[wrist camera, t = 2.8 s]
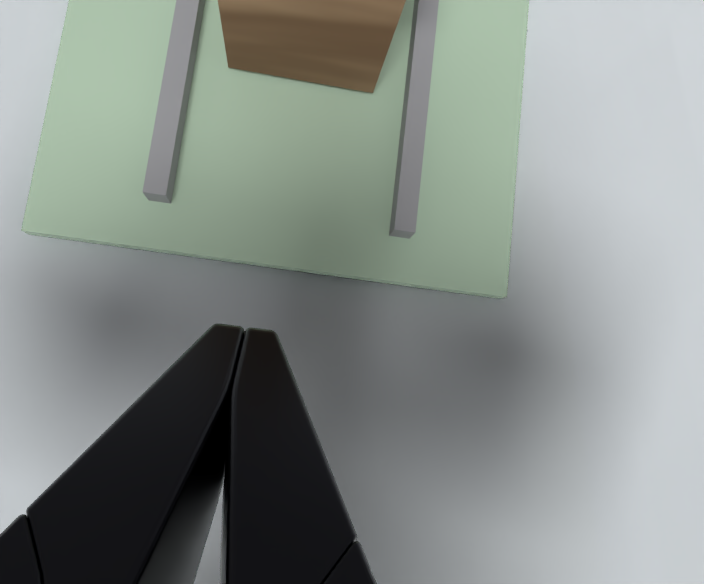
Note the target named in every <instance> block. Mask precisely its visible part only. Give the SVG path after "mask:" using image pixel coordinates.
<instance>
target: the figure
mask: <svg viewBox="0 0 704 584" xmlns="http://www.w3.org/2000/svg"><path fill="white" fill-rule="evenodd" d="M405 2H406V0H218V6H219V12H220V18H221V25H222V31H223V37H224V44H225V50H226V56H227V63H228V68H233V69H239V70H245V71H250V72H256V73H262V74H267V75H273V76H279V77H284V78H290V79H296V80H301V81H307V82H313V83H318V84H324V85H330V86H335V87H341V88H347V89H352V90H358V91H364V92H369V93H373V91H374V89H375V86H376V83H377V80H378V77H379V75H380V72H381V69H382V66H383V63H384V61H385V58H386V55H387V52H388V49H389V47H390V44H391V41H392V38H393V35H394V32H395V30H396V27H397V24H398V21H399V18H400V16H401V13H402V10H403V7H404V4H405Z"/></svg>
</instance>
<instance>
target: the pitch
mask: <svg viewBox="0 0 704 584" xmlns="http://www.w3.org/2000/svg"><path fill="white" fill-rule="evenodd" d="M528 8H529V0H406V2H405V4H404V7H403V10H402V13H401V16H400V18H399V21H398V24H397V27H396V30H395V32H394V35H393V38H392V41H391V44H390V47H389V49H388V52H387V55H386V58H385V61H384V63H383V66H382V69H381V72H380V75H379V77H378V80H377V83H376V86H375V89H374V91H373V93H369V92H364V91H358V90H352V89H347V88H341V87H335V86H330V85H324V84H318V83H313V82H307V81H301V80H296V79H290V78H284V77H279V76H273V75H267V74H262V73H256V72H250V71H245V70H239V69H233V68H228V63H227V56H226V50H225V44H224V37H223V31H222V25H221V18H220V12H219V6H218V0H69V3H68V7H67V12H66V17H65V22H64V27H63V31H62V36H61V41H60V46H59V51H58V56H57V60H56V65H55V70H54V75H53V80H52V84H51V89H50V94H49V99H48V104H47V109H46V113H45V118H44V123H43V128H42V133H41V137H40V142H39V147H38V152H37V157H36V161H35V166H34V171H33V176H32V181H31V186H30V190H29V195H28V200H27V205H26V210H25V214H24V219H23V224H22V229H21V231H23V232H25V233H27V234H30V235H37V236H44V237H52V238H59V239H66V240H73V241H81V242H88V243H95V244H103V245H110V246H117V247H125V248H132V249H139V250H147V251H154V252H161V253H169V254H176V255H183V256H190V257H198V258H205V259H212V260H220V261H227V262H234V263H242V264H249V265H256V266H264V267H271V268H278V269H286V270H293V271H300V272H307V273H315V274H322V275H329V276H337V277H344V278H351V279H359V280H366V281H373V282H381V283H388V284H395V285H403V286H410V287H417V288H424V289H432V290H439V291H446V292H454V293H461V294H468V295H476V296H483V297H490V298H498V299H502V298H506V297H507V289H508V275H509V262H510V248H511V235H512V222H513V208H514V195H515V182H516V168H517V155H518V142H519V128H520V115H521V102H522V88H523V75H524V61H525V48H526V35H527V21H528Z"/></svg>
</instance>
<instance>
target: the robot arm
mask: <svg viewBox="0 0 704 584" xmlns="http://www.w3.org/2000/svg"><path fill="white" fill-rule="evenodd" d="M224 474H225V475H224ZM223 479H224V490H223V505H222V530H221V555H220V579H219V584H377V583H376V581H375V579H374V576H373V574H372V572H371V569H370V567H369V564H368V562H367V559H366V557H365V554H364V552H363V549H362V546H361V544H360V543H359V542H358V541H356V539H357V535H356V532H355V530H354V527H353V525H352V522H351V520H350V517H349V515H348V512H347V509H346V507H345V504H344V502H343V499H342V497H341V494H340V492H339V489H338V487H337V484H336V482H335V479H334V477H333V474H332V472H331V469H330V467H329V464H328V461H327V459H326V456H325V454H324V451H323V449H322V446H321V444H320V441H319V439H318V436H317V434H316V431H315V429H314V426H313V424H312V421H311V419H310V416H309V413H308V411H307V408H306V406H305V403H304V401H303V398H302V396H301V393H300V391H299V388H298V386H297V383H296V381H295V378H294V376H293V373H292V371H291V368H290V366H289V363H288V360H287V358H286V355H285V353H284V350H283V348H282V345H281V343H280V340H279V338H278V335H277V334H276V332H274V331H273V330H266V329H258V328H248V329H246V331H244V329H243V328H242V327H240V326H234V325H225V324H215V325H213V326H211V327H210V328H209V329H208V330H207V331H206V332H205V333H204V334H203V335H202V336H201V337H200V338H199V339H198V340H197V341H196V342H195V343H194V344H193V345H192V346H191V347H190V348H189V349H188V350H187V351H186V352H185V353H184V354H183V355H182V356H181V357H180V358H179V359H178V360H177V361H176V362H175V363H174V364H173V365H172V366H171V367H170V368H169V369H168V370H167V371H166V372H165V373H164V374H163V375H162V376H161V377H160V378H159V379H158V380H157V381H156V382H155V383H154V384H153V385H152V386H151V387H150V388H149V389H148V390H147V391H146V392H145V393H143V394H142V395H141V396H140V397H139V398H138V399H137V400H136V401H135V402H134V403H133V404H132V405H131V406H130V407H129V408H128V409H127V410H126V411H125V412H124V413H123V414H122V415H121V416H120V417H119V418H118V419H117V420H116V421H115V422H114V423H113V424H112V425H111V426H110V427H109V428H108V429H107V430H106V431H105V432H104V433H103V434H102V435H101V436H100V437H99V438H98V439H97V440H96V441H95V442H94V443H93V444H92V445H91V446H90V447H89V448H88V449H87V450H86V451H85V452H84V453H83V454H82V455H81V456H80V457H79V458H78V459H77V460H76V461H75V462H74V463H73V464H72V465H71V466H70V467H69V468H68V469H67V470H66V471H65V472H63V473H62V474H61V475H60V476H59V477H58V478H57V479H56V480H55V481H54V482H53V483H52V484H51V485H50V486H49V487H48V488H47V489H46V490H45V491H44V492H43V493H42V494H41V495H40V496H39V497H38V498H37V499H36V500H35V501H34V502H33V503H32V504H31V505H30V506H29V507H28V508H27V510H26V513H27V516H26V515H24V514H22V515H20V516H18V517H17V518H16V519H15V520H14V521H13V522H12V523H11V524H10V525H9V526H8V527H7V528H6V529H5V530H4V531H3V532H2V533H1V534H0V584H193V583H194V580H195V577H196V573H197V570H198V567H199V563H200V560H201V557H202V553H203V550H204V547H205V543H206V540H207V537H208V533H209V530H210V527H211V523H212V520H213V517H214V513H215V510H216V507H217V503H218V500H219V496H220V492H221V488H222V484H223Z"/></svg>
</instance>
